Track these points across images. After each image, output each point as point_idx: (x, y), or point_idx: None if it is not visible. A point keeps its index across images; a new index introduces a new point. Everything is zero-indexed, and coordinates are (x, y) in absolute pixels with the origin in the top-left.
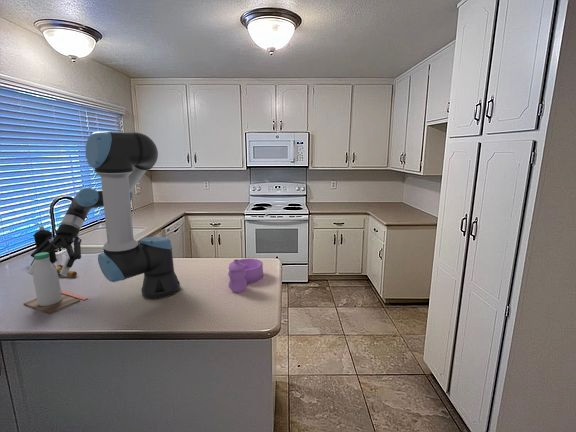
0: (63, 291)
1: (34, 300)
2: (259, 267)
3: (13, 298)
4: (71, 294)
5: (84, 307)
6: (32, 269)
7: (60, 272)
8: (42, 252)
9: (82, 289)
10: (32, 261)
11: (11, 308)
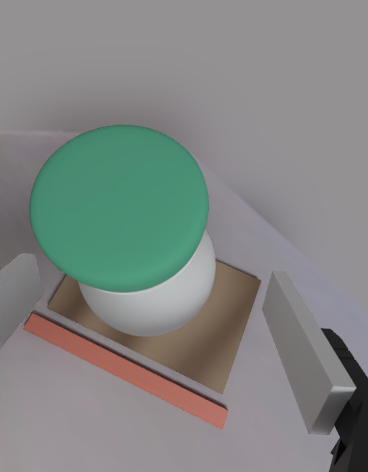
0: (183, 405)
1: (239, 304)
2: None
3: (358, 338)
4: (120, 368)
5: (5, 257)
6: (279, 299)
7: (26, 257)
8: (155, 258)
9: (109, 443)
10: (357, 364)
11: (278, 254)
